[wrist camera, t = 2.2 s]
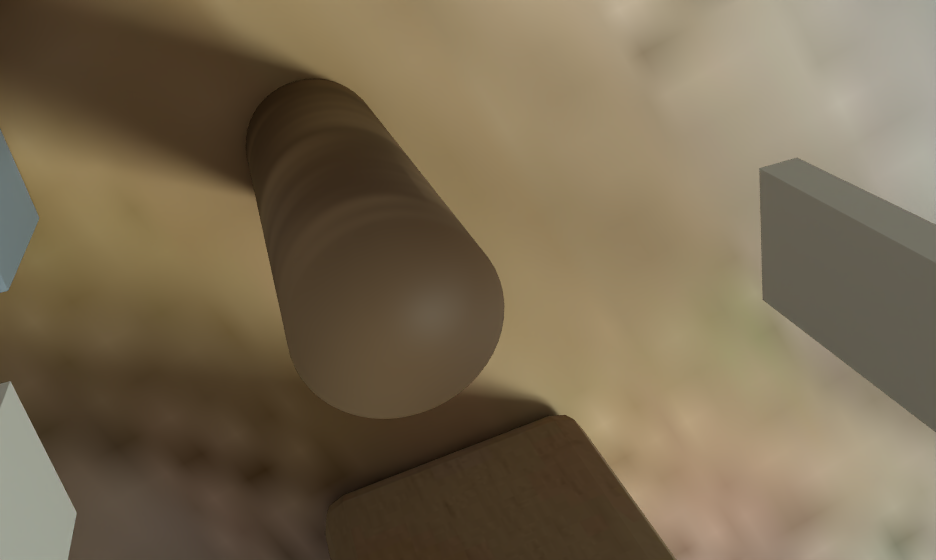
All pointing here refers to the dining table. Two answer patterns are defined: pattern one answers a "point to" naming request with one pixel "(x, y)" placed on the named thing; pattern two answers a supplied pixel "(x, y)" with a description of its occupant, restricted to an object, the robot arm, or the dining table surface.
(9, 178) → the socket block
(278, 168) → the walnut peg
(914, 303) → the robot arm
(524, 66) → the dining table surface
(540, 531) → the wooden block
